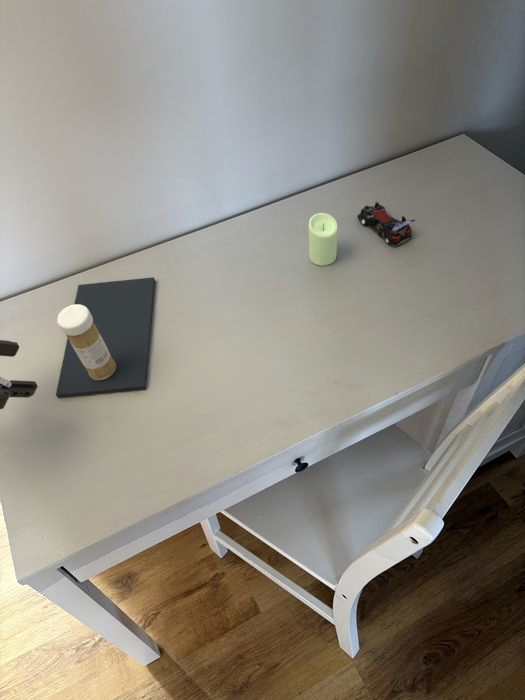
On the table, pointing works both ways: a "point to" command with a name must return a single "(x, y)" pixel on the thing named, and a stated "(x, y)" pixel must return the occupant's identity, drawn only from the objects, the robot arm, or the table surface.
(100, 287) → the mat
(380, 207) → the toy car
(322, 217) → the candle
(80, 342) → the sprinkles bottle
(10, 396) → the robot arm
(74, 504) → the table surface
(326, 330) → the table surface
